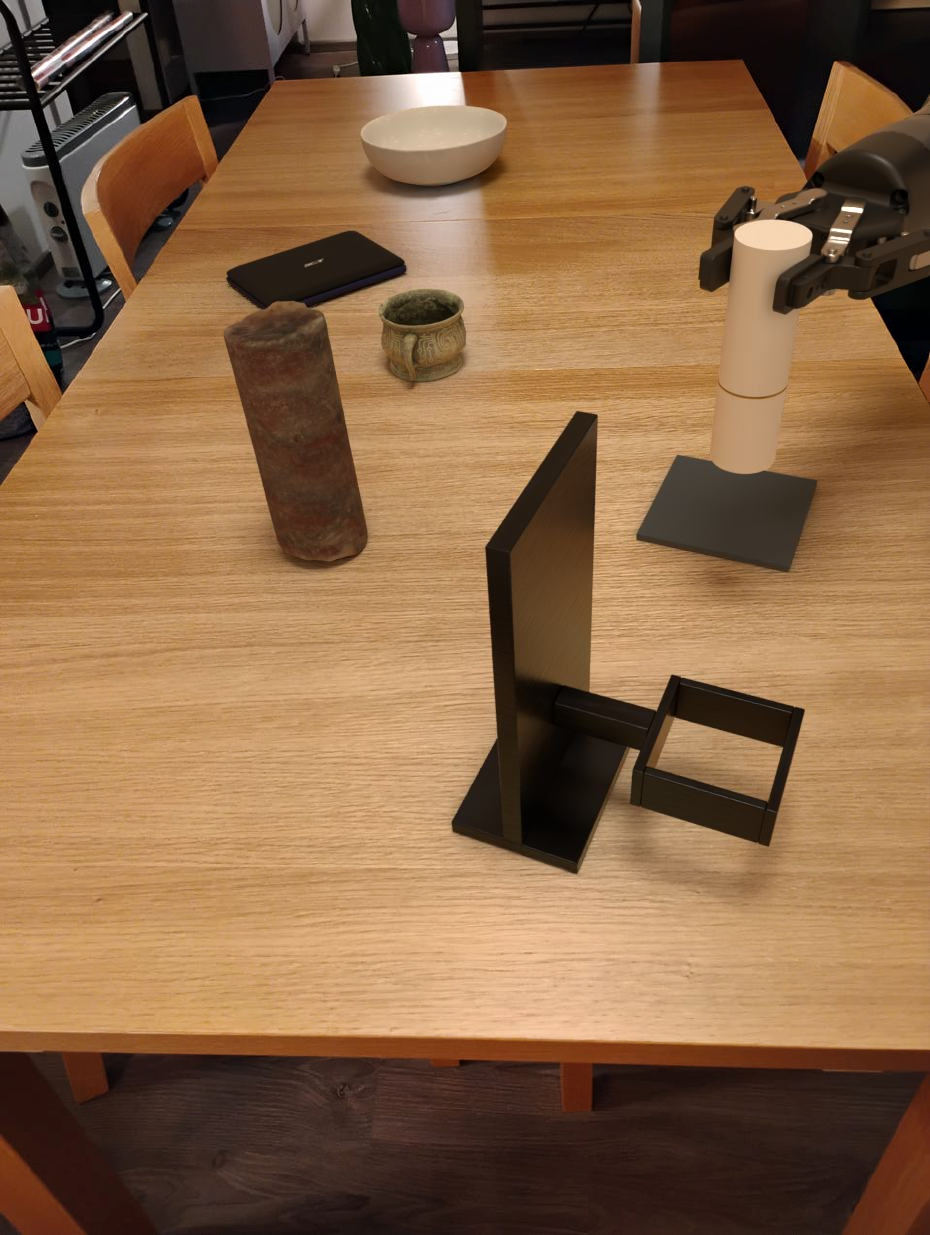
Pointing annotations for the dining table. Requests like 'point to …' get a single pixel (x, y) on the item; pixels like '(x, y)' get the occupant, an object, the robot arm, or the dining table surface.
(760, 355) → the tube
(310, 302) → the laptop
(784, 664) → the dining table surface
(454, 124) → the serving bowl
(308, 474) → the candle
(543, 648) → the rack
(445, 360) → the vessel
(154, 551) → the dining table surface
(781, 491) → the mat
